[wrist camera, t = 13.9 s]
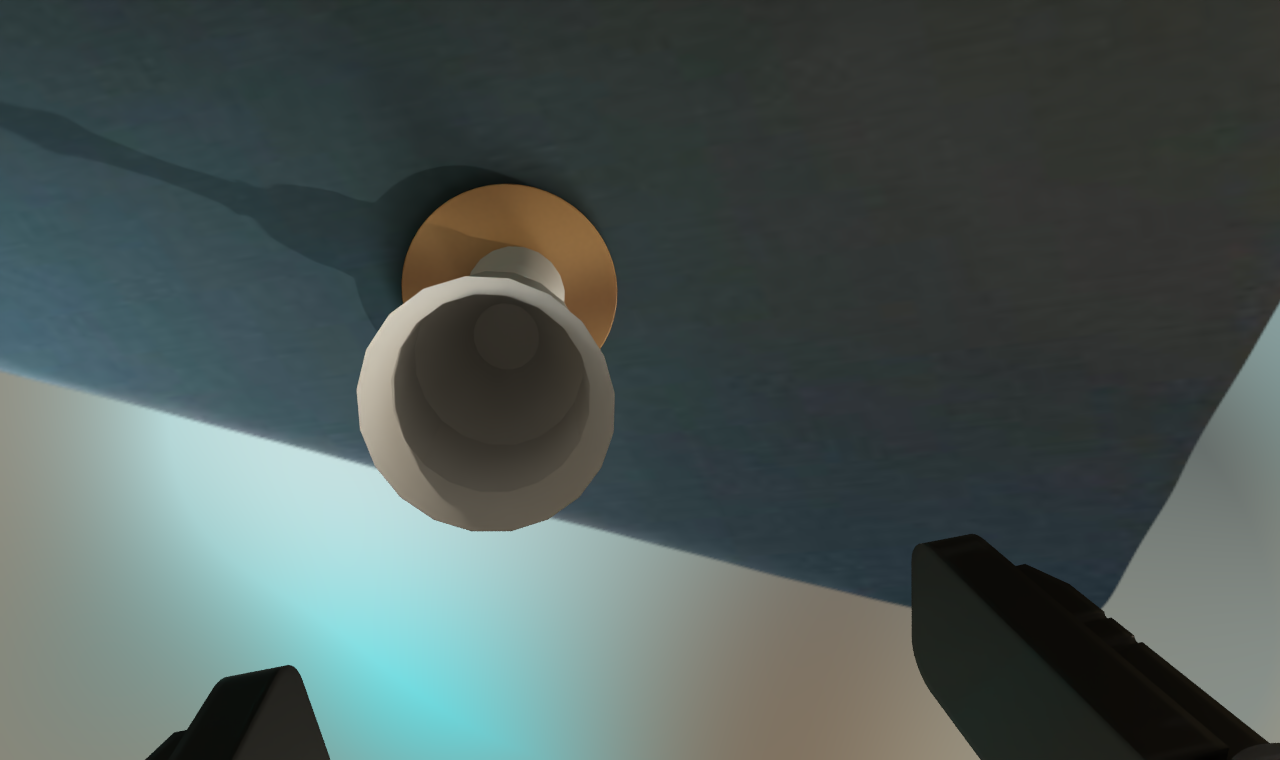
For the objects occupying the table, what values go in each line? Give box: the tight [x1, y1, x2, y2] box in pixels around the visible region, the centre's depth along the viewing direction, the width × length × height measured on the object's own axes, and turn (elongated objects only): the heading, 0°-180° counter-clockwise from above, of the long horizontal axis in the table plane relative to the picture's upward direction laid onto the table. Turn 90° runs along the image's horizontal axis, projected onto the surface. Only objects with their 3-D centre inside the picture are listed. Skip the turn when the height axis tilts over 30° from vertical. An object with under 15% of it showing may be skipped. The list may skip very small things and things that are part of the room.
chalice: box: [357, 246, 615, 531], centre depth 27 cm, size 7×7×18 cm
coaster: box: [401, 184, 617, 349], centre depth 36 cm, size 11×11×1 cm
